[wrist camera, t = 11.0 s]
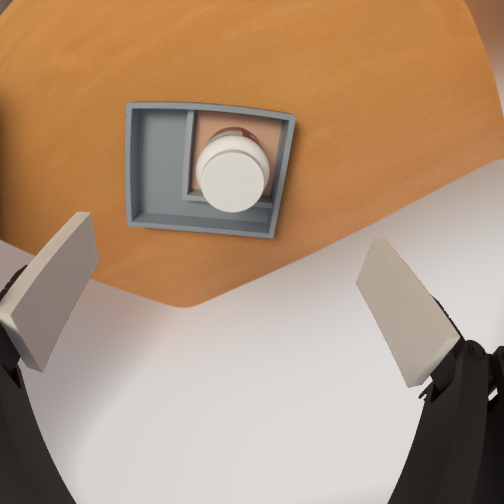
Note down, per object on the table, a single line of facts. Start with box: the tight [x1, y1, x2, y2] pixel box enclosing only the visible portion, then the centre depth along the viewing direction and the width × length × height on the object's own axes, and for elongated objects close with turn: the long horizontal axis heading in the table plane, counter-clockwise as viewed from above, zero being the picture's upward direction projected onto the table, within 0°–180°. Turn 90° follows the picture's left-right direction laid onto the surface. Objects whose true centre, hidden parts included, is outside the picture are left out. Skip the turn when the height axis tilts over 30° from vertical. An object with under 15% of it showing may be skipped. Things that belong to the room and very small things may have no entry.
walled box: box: [125, 101, 296, 239], centre depth 29 cm, size 17×14×4 cm
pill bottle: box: [196, 127, 270, 213], centre depth 25 cm, size 6×6×11 cm
